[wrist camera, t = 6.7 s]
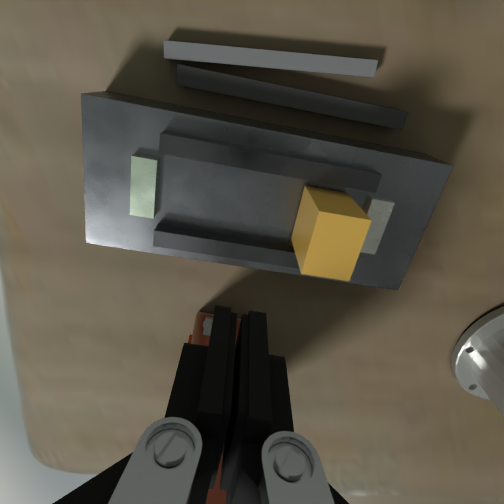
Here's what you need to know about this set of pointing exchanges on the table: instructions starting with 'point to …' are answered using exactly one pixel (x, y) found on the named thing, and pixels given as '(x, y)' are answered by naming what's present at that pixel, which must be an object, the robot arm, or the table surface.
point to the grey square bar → (269, 59)
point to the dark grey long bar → (289, 97)
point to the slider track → (243, 187)
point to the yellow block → (328, 233)
